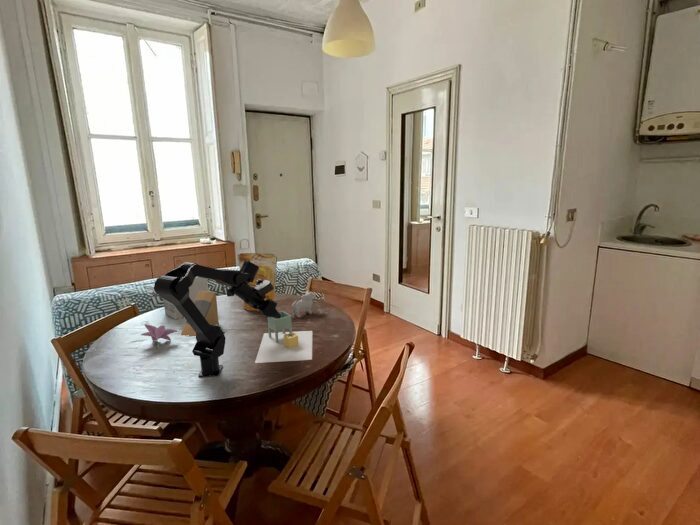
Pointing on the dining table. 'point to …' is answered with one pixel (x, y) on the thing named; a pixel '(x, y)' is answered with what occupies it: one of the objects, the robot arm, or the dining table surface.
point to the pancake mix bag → (261, 272)
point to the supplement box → (194, 289)
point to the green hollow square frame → (279, 324)
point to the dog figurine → (303, 303)
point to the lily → (158, 332)
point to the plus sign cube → (291, 340)
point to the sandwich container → (204, 310)
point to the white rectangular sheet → (285, 348)
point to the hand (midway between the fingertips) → (275, 313)
